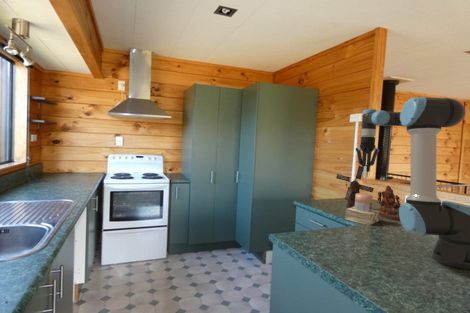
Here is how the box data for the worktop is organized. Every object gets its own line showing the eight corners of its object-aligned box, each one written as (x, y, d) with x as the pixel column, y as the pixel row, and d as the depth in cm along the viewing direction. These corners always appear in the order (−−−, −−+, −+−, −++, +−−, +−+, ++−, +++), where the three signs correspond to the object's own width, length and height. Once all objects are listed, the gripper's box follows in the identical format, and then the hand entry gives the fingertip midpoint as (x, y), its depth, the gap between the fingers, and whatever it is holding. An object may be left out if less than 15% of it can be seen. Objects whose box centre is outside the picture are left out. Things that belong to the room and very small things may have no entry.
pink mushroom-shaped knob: (367, 212, 161) (368, 197, 160) (351, 209, 167) (353, 194, 167) (373, 210, 167) (375, 195, 167) (358, 207, 174) (359, 192, 173)
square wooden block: (369, 225, 158) (370, 214, 158) (345, 219, 168) (345, 209, 168) (379, 220, 168) (379, 210, 167) (355, 215, 178) (356, 205, 177)
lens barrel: (367, 212, 161) (367, 203, 161) (352, 209, 167) (353, 201, 167) (373, 210, 167) (373, 202, 167) (358, 207, 173) (359, 199, 173)
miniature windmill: (332, 207, 197) (335, 164, 195) (335, 204, 207) (338, 163, 204) (372, 213, 185) (375, 167, 183) (373, 209, 195) (376, 165, 193)
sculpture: (406, 220, 170) (409, 187, 169) (396, 221, 167) (399, 187, 166) (382, 213, 186) (385, 182, 185) (373, 214, 183) (375, 183, 181)
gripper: (382, 137, 162) (379, 178, 164) (359, 136, 172) (356, 175, 173) (377, 136, 157) (374, 179, 159) (354, 136, 166) (351, 176, 168)
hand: (365, 177), depth 166 cm, fingers closed
